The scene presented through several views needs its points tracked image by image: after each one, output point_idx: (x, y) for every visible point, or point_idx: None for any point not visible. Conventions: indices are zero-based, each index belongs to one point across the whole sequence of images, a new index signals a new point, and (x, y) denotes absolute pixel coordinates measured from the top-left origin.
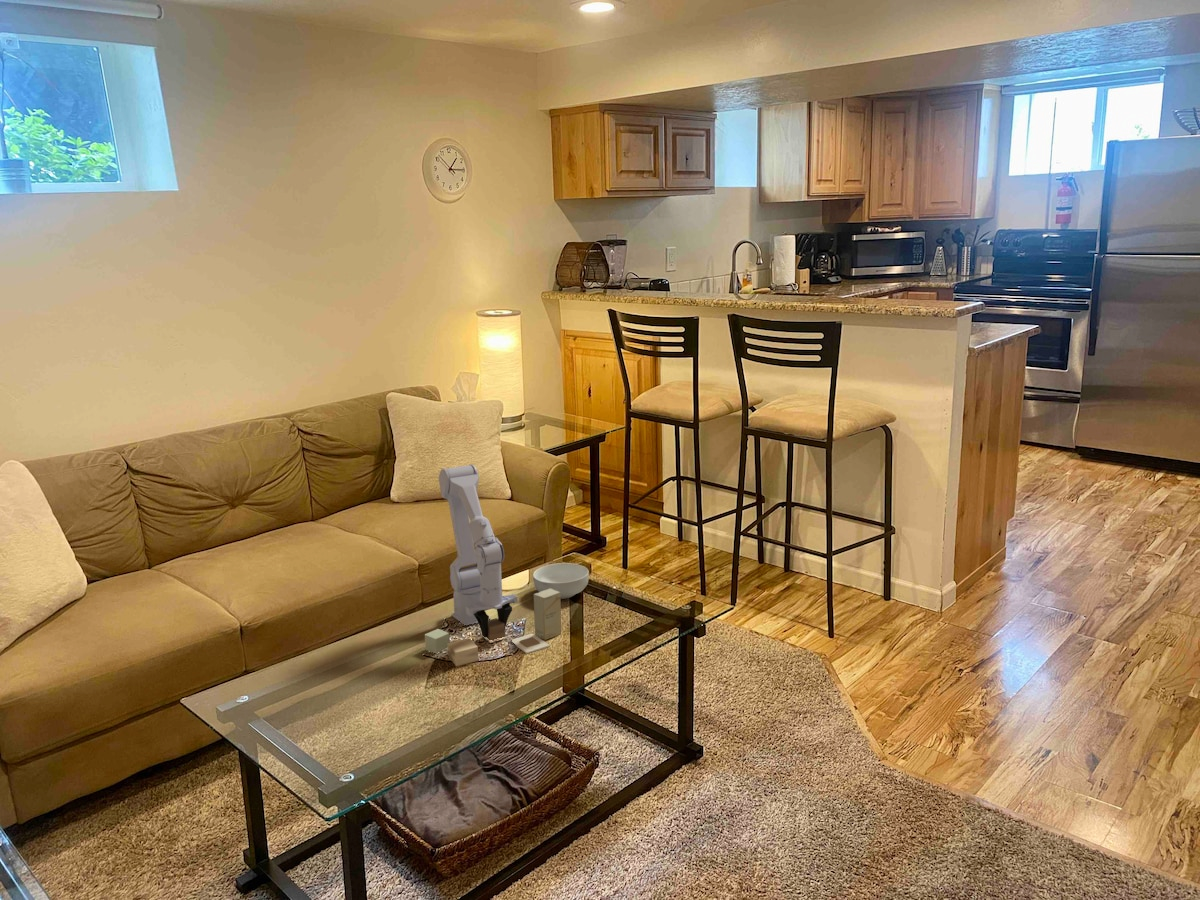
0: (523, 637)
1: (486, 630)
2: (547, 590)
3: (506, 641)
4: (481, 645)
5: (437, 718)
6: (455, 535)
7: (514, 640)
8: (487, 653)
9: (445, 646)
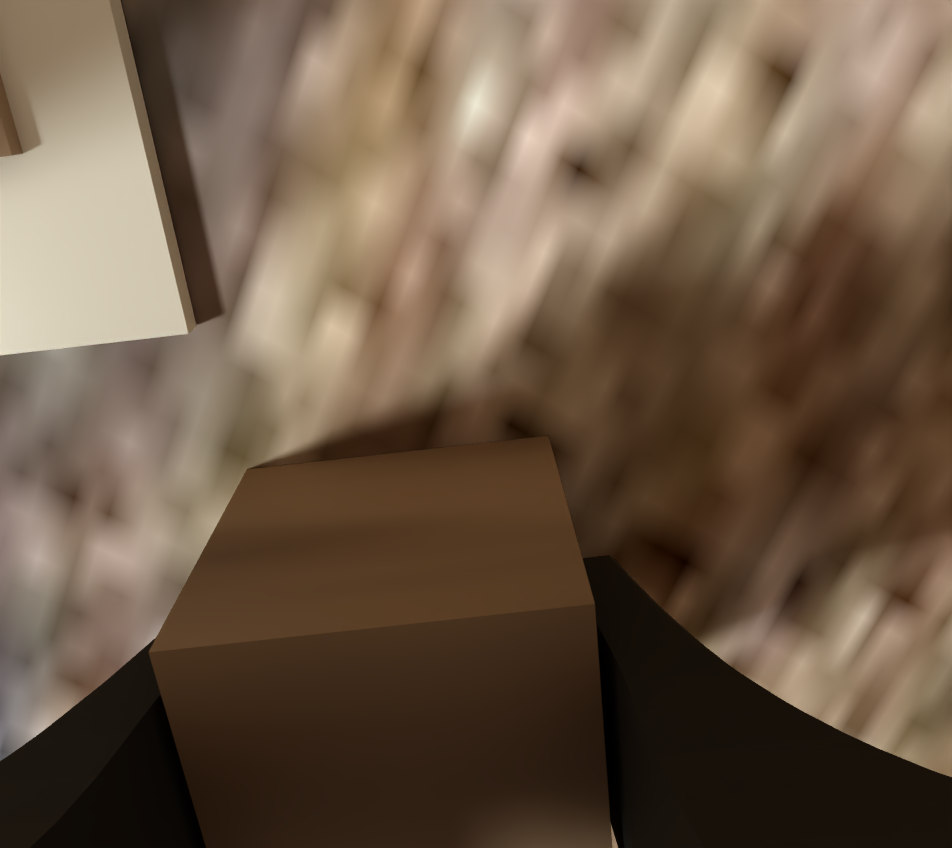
0: None
1: (636, 613)
2: None
3: (256, 368)
4: (714, 439)
5: None
6: None
7: (105, 276)
8: (780, 58)
9: None
